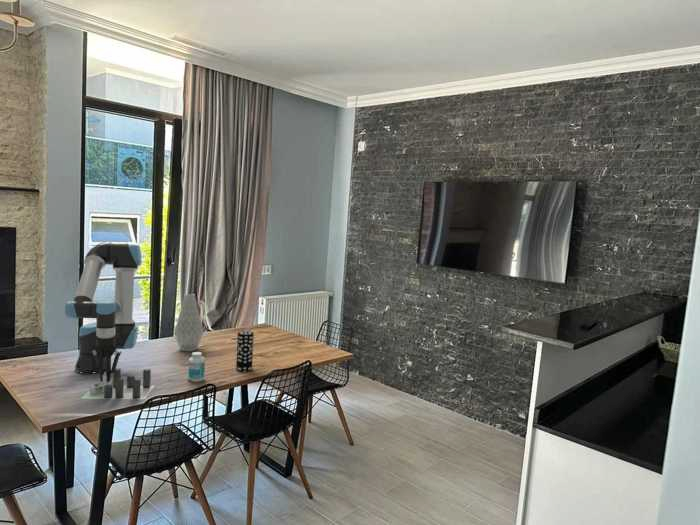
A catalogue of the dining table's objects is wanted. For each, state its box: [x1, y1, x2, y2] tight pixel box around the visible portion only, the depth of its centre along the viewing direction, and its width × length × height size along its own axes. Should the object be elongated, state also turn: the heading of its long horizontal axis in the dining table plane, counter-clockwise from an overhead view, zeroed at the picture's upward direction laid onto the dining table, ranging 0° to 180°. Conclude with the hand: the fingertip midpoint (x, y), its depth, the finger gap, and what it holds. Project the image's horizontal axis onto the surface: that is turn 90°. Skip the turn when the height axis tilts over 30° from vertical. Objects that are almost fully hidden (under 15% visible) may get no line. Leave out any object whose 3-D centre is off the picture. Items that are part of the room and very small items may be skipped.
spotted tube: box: [235, 330, 254, 373], centre depth 266 cm, size 8×8×20 cm
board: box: [80, 384, 155, 400], centre depth 223 cm, size 26×17×1 cm, turn 98°
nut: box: [89, 382, 104, 395], centre depth 221 cm, size 5×6×3 cm
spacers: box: [104, 368, 152, 400], centre depth 223 cm, size 16×16×8 cm
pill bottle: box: [188, 351, 206, 383], centre depth 247 cm, size 8×7×14 cm
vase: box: [173, 293, 204, 352], centre depth 297 cm, size 17×17×33 cm
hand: (105, 388), depth 222 cm, fingers closed
